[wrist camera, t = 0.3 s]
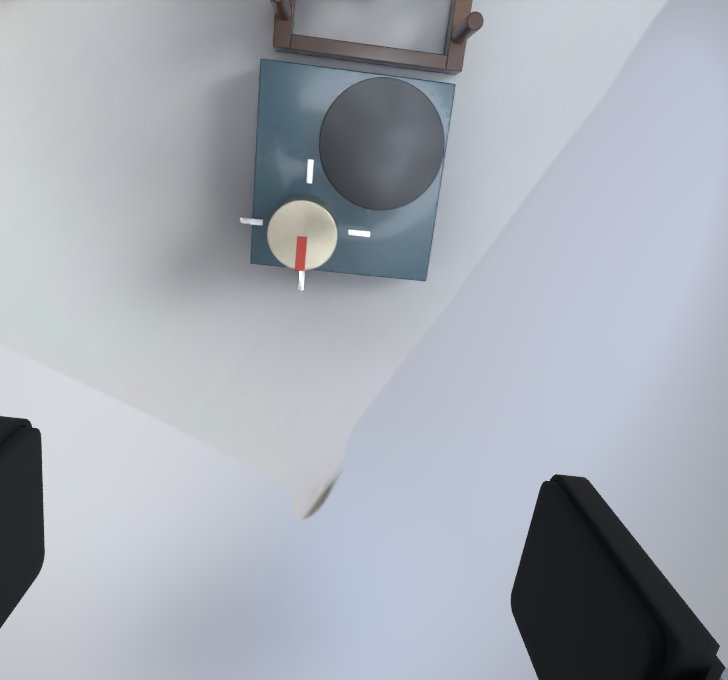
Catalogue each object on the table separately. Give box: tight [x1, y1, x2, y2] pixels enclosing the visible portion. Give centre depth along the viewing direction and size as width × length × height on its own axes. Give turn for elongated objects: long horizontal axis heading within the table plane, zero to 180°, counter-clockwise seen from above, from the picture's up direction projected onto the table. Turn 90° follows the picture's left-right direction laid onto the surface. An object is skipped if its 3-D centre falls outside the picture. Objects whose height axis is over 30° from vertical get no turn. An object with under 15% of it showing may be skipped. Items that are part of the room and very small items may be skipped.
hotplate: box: [319, 77, 445, 210], centre depth 34 cm, size 8×8×1 cm
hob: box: [240, 59, 456, 291], centre depth 36 cm, size 13×12×3 cm
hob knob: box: [267, 195, 338, 271], centre depth 33 cm, size 4×4×4 cm
